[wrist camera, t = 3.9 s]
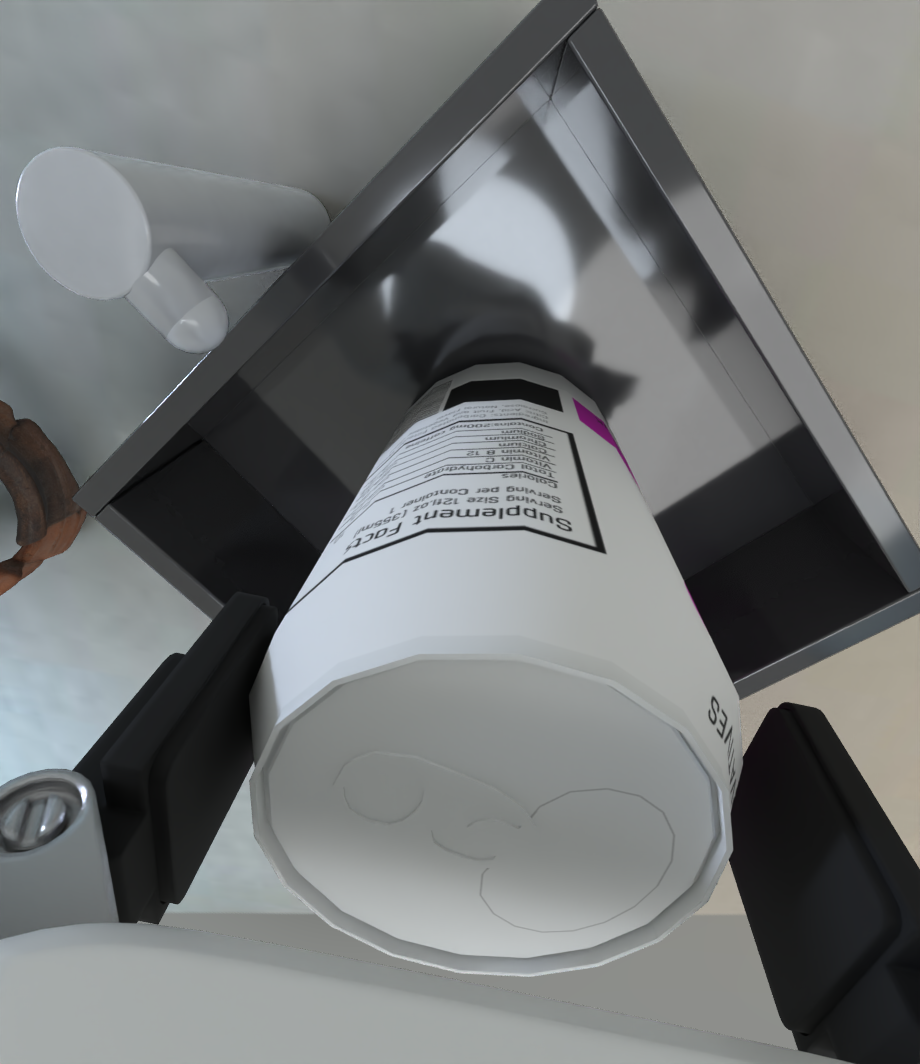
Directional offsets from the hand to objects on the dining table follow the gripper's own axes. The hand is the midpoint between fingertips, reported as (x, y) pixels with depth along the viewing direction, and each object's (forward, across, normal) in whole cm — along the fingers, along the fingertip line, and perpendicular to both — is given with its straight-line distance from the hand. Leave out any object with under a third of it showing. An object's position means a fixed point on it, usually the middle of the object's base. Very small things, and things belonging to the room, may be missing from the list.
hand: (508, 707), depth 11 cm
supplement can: (+12, 0, 0) cm, 12 cm away
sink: (+12, +2, -1) cm, 12 cm away
